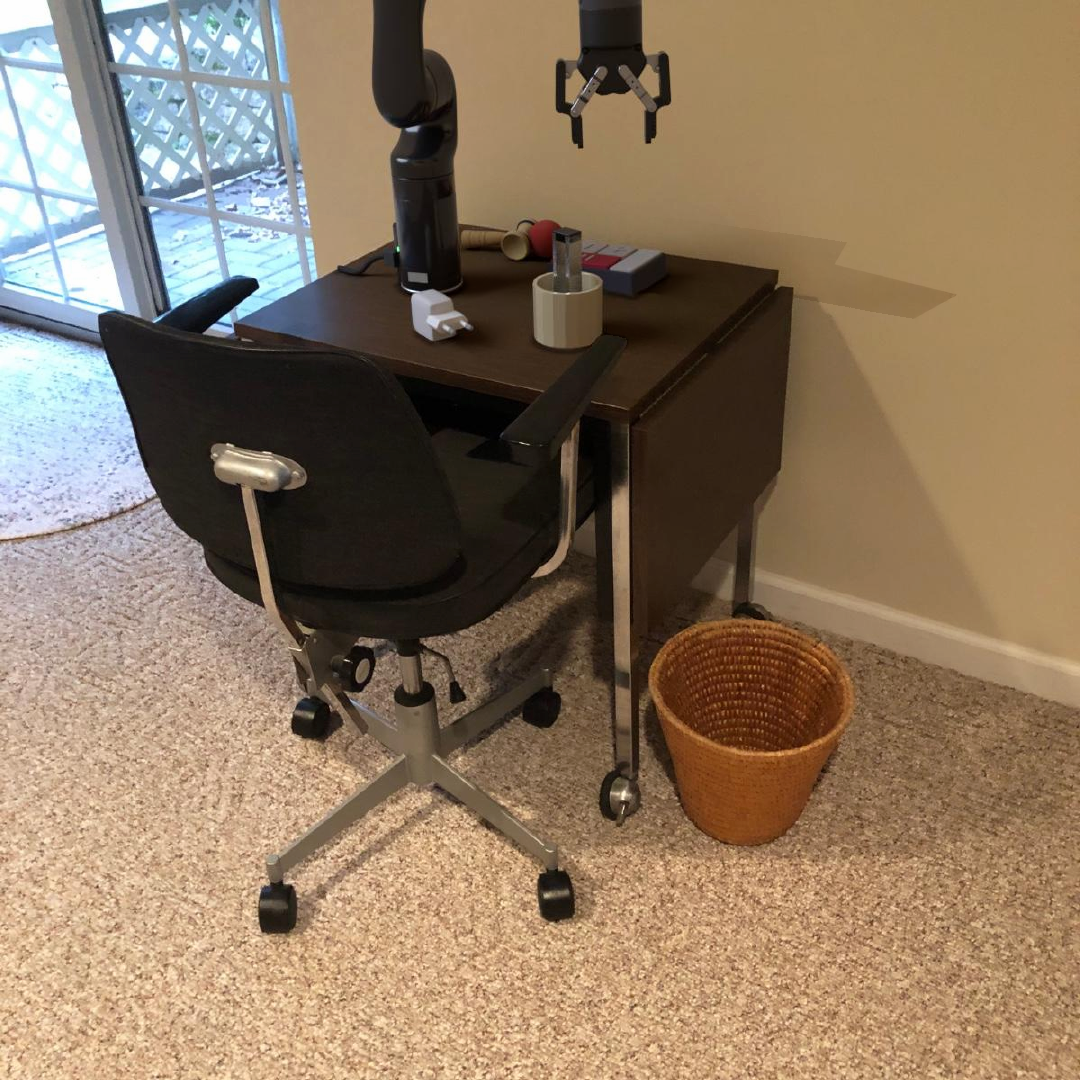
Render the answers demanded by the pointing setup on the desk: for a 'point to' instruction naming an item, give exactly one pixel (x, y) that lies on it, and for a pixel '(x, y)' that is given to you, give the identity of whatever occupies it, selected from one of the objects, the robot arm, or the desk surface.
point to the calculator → (622, 266)
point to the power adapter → (436, 315)
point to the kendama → (516, 239)
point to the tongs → (567, 260)
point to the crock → (567, 312)
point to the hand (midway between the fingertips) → (614, 145)
